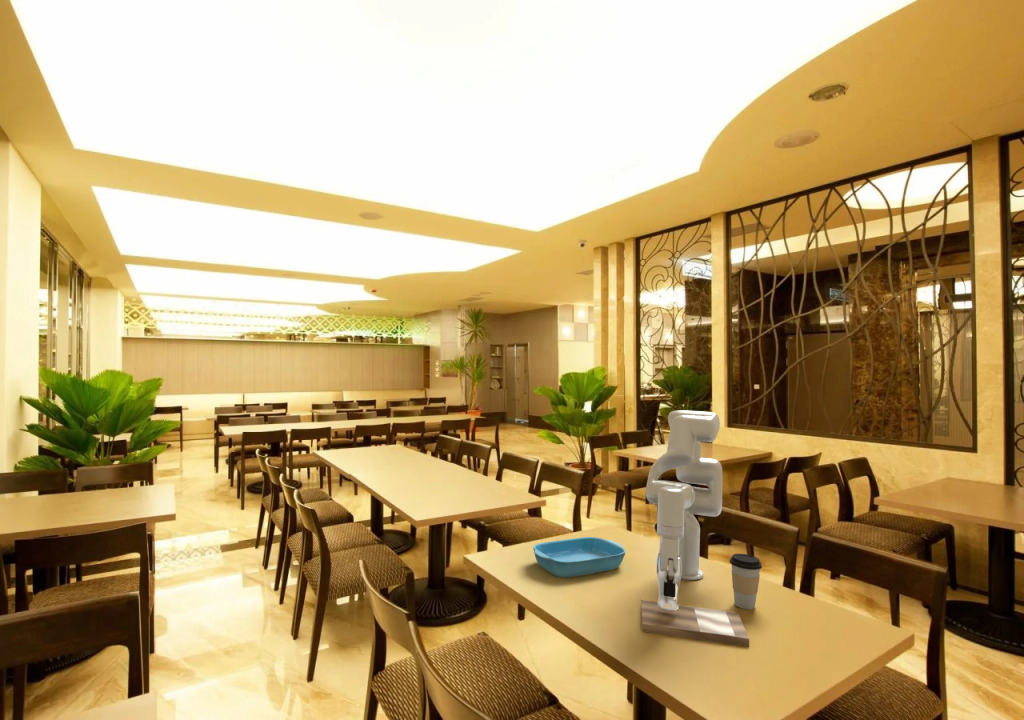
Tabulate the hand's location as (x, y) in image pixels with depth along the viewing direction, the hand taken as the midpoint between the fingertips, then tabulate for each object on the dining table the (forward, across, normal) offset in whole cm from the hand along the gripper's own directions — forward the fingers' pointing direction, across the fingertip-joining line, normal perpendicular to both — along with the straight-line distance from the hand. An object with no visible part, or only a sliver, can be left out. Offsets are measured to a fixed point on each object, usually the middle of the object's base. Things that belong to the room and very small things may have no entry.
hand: (668, 590), depth 154 cm
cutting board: (+9, 0, +6) cm, 11 cm away
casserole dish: (+10, -36, -30) cm, 48 cm away
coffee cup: (+9, -19, +24) cm, 32 cm away
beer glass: (+5, 0, 0) cm, 5 cm away
